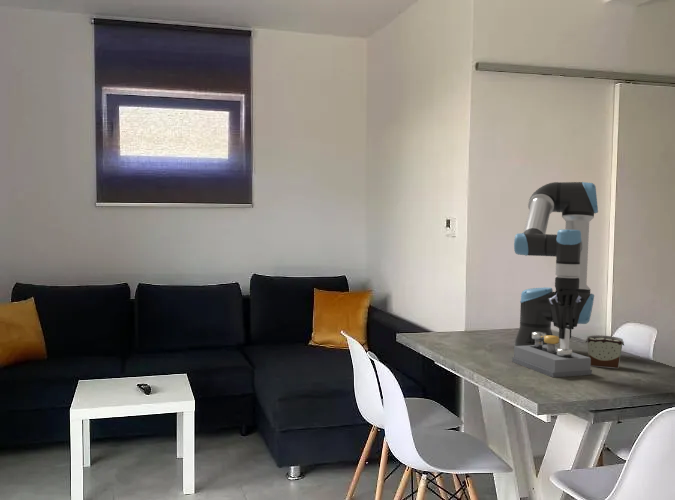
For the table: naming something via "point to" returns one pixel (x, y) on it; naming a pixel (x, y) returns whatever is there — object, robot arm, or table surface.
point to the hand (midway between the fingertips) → (564, 348)
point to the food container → (604, 350)
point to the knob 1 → (538, 339)
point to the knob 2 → (564, 352)
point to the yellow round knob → (551, 343)
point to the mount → (551, 362)
